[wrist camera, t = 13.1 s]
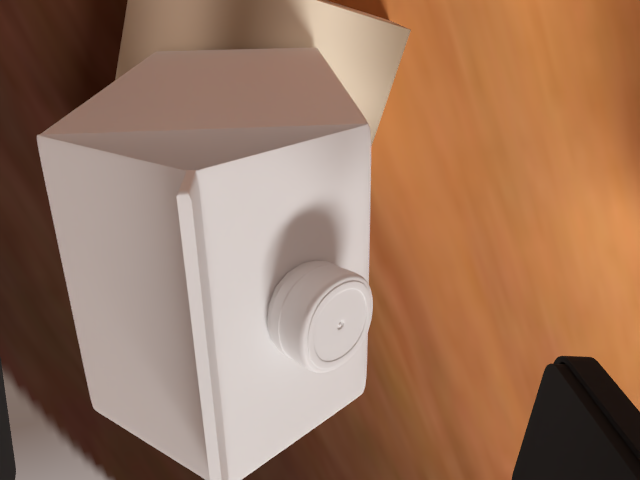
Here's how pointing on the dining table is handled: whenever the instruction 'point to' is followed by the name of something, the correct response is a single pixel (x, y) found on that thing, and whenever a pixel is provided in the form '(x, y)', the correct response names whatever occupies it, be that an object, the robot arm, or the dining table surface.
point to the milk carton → (217, 250)
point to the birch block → (274, 38)
